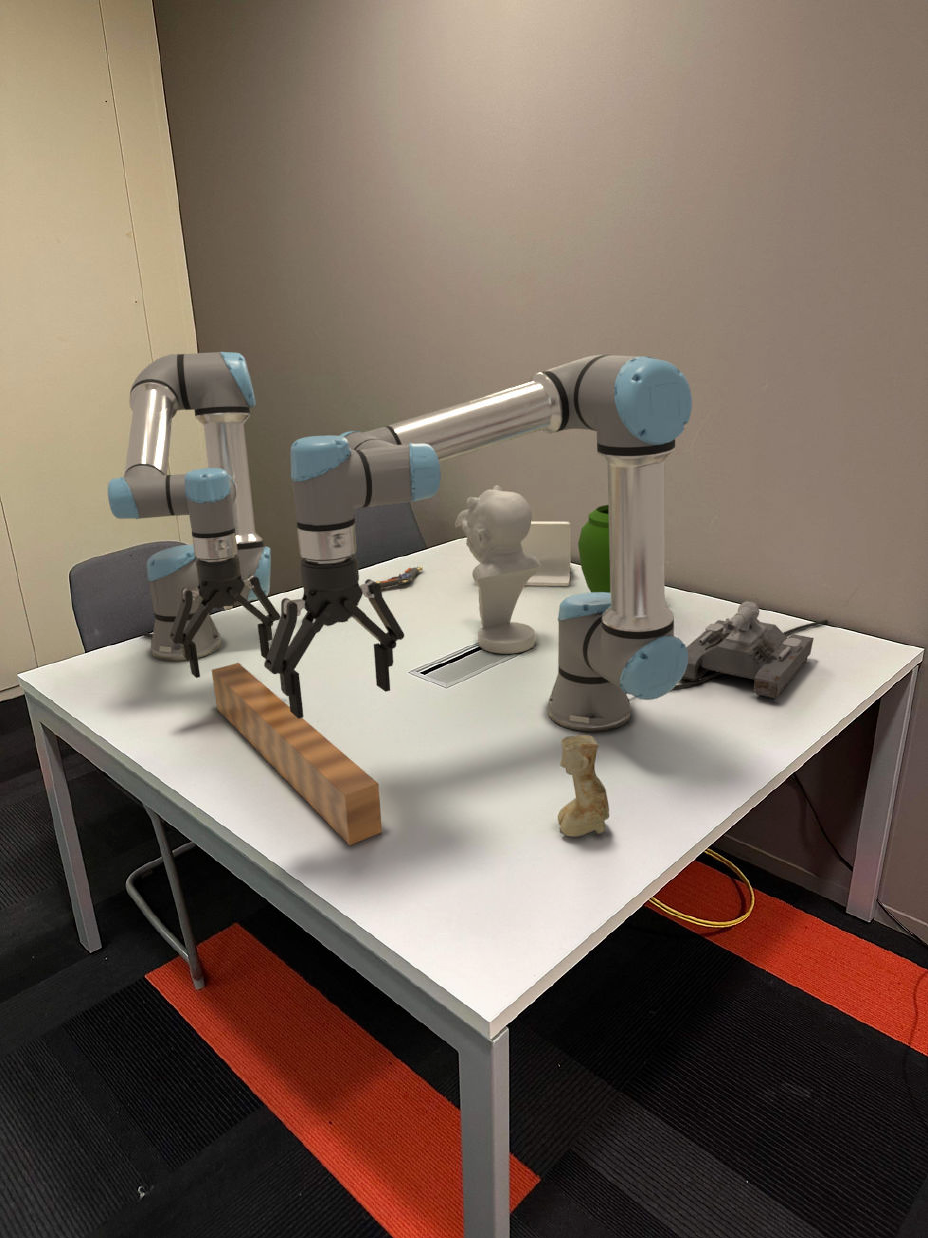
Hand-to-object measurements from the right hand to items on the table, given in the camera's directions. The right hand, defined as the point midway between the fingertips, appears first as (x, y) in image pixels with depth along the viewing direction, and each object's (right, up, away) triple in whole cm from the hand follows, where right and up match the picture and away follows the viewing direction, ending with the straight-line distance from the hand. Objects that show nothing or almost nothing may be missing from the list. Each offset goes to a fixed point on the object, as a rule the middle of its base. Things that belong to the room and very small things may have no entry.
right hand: (341, 701), depth 120 cm
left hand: (-26, +3, +40) cm, 48 cm away
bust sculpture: (+24, +7, +74) cm, 78 cm away
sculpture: (+35, -19, +4) cm, 40 cm away
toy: (+75, +1, +55) cm, 93 cm away
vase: (+56, +15, +94) cm, 110 cm away
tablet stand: (+34, +24, +119) cm, 126 cm away
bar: (-13, -13, +25) cm, 31 cm away
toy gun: (-1, +22, +117) cm, 119 cm away
